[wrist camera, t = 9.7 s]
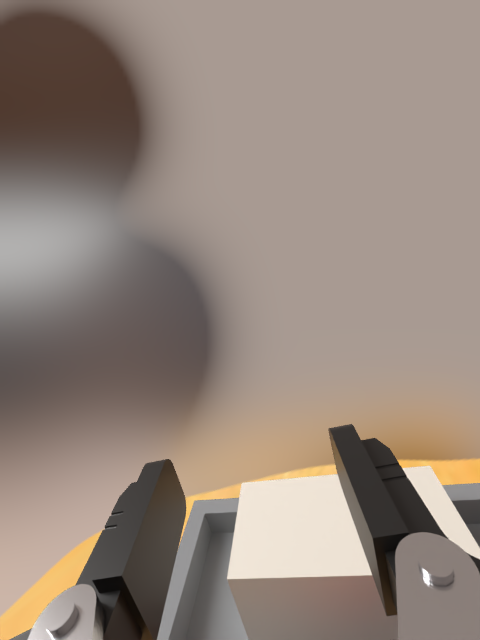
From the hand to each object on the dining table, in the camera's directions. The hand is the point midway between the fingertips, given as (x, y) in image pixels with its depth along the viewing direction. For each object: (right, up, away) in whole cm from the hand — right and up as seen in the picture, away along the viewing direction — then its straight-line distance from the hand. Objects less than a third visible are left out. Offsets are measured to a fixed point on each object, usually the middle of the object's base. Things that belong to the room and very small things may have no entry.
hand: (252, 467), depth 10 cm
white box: (+6, -11, +9) cm, 15 cm away
